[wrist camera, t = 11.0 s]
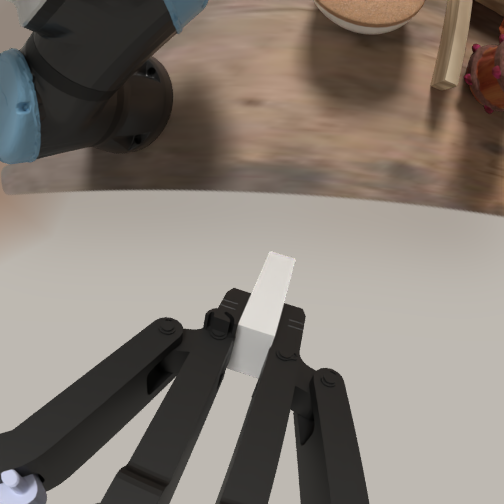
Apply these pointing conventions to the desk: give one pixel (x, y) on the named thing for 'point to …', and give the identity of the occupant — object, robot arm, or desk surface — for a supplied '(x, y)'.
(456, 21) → the wooden u-shaped frame
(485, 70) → the mug
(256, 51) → the desk surface
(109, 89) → the robot arm
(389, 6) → the lidded bowl
